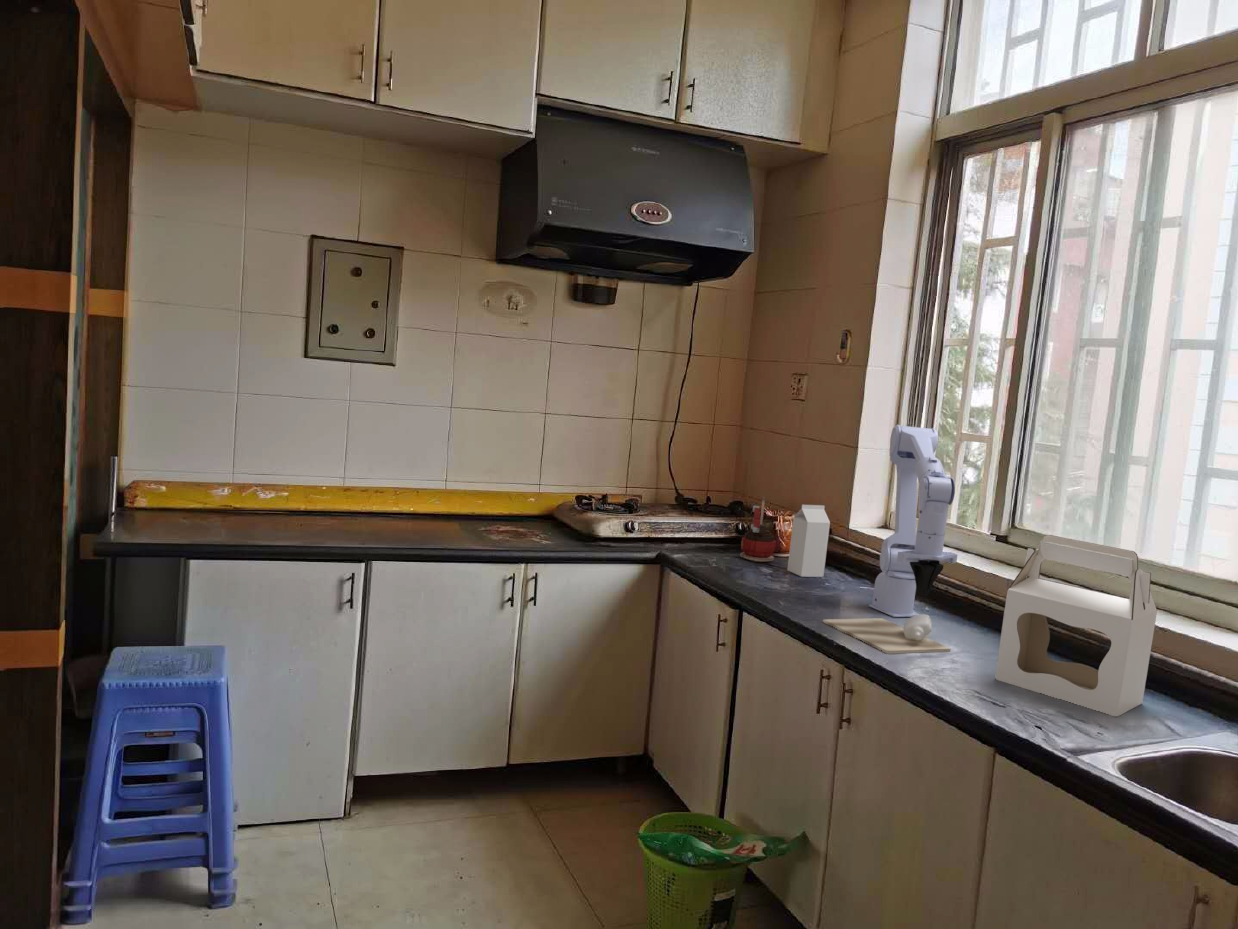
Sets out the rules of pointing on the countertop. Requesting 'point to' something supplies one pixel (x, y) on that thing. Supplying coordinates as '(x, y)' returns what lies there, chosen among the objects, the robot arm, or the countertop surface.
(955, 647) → the countertop surface
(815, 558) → the milk carton
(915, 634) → the eye dropper bottle
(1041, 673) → the gable box
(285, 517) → the countertop surface
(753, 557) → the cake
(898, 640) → the birch board
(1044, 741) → the countertop surface
